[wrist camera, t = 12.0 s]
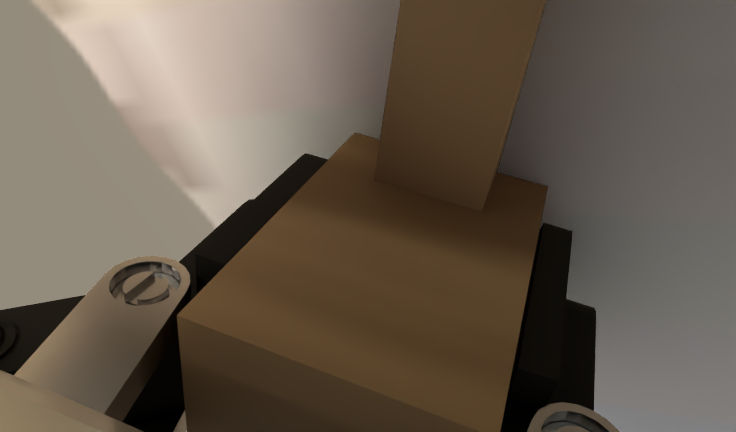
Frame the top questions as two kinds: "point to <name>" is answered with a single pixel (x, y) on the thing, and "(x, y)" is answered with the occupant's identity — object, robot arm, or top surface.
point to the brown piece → (386, 256)
